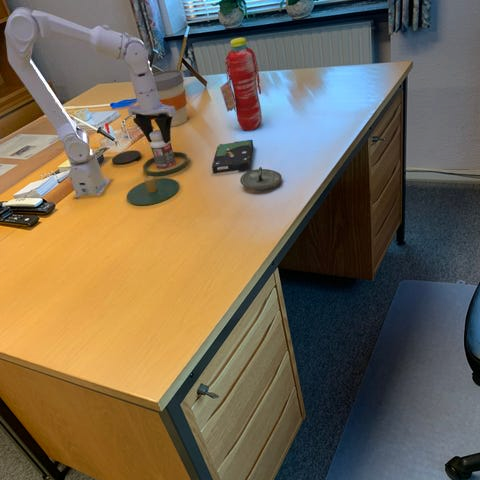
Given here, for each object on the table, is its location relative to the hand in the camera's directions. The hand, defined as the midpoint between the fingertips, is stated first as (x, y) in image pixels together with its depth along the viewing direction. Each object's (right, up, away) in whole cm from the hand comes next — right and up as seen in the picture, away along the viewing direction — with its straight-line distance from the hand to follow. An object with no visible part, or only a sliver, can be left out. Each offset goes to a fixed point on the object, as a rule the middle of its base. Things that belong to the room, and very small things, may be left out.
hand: (159, 141), depth 135 cm
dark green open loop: (+1, -6, +5) cm, 8 cm away
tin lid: (-1, -16, -7) cm, 18 cm away
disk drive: (+21, -6, +1) cm, 22 cm away
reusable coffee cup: (0, +19, +34) cm, 39 cm away
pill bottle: (+1, -6, +5) cm, 8 cm away
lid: (+28, -16, -13) cm, 34 cm away
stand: (-12, -1, +15) cm, 19 cm away
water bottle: (+24, +11, +18) cm, 32 cm away
